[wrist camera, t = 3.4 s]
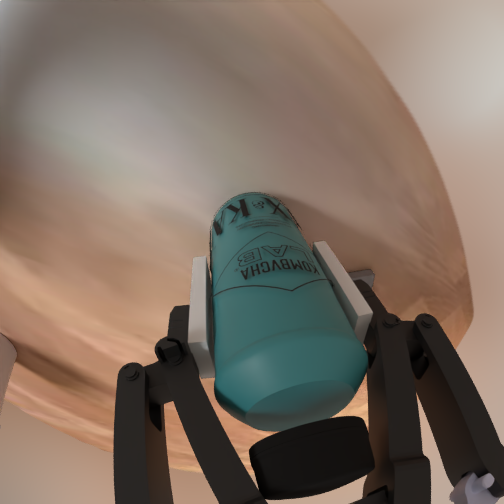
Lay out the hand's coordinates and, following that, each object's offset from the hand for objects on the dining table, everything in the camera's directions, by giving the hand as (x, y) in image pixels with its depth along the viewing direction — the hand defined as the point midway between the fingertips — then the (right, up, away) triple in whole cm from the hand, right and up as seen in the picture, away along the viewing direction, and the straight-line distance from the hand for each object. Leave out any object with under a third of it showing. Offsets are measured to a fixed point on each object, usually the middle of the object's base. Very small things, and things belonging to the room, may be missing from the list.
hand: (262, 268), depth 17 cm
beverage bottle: (-1, +4, +6) cm, 7 cm away
